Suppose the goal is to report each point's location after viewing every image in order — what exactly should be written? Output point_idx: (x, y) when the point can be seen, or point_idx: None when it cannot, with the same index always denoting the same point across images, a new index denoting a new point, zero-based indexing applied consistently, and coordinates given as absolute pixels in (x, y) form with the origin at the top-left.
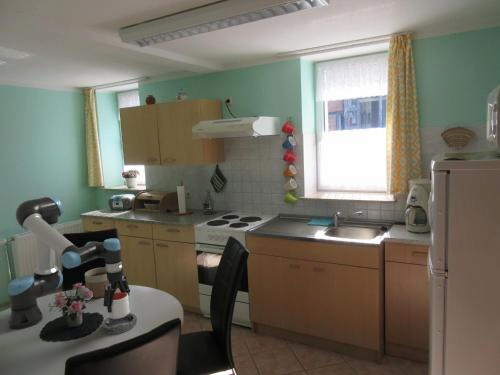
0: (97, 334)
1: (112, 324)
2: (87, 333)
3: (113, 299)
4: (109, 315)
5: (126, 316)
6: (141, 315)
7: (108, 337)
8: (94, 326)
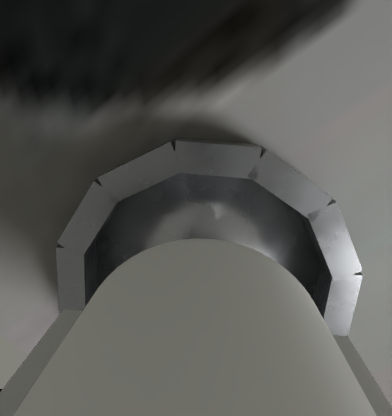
0: (38, 175)
1: (190, 217)
2: (23, 70)
3: (308, 385)
4: (49, 340)
5: (320, 281)
6: (380, 350)
7: (31, 284)
8: (146, 48)
